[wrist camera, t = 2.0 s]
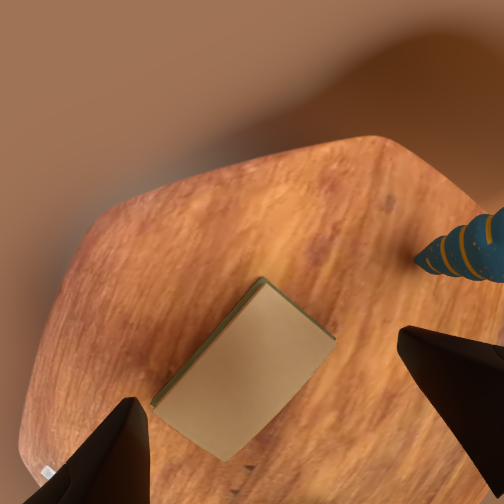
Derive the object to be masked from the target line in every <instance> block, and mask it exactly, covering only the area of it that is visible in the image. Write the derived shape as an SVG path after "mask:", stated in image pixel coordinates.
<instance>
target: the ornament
mask: <svg viewBox="0 0 504 504" xmlns="http://www.w3.org/2000/svg"><path fill="white" fill-rule="evenodd" d="M414 262H415V264H417V265H419V266H420V267H421V268H423V269H424V270H425V271H427V272H429V273H431V274H434V275H440V274H445V275H447V276H451V277H461V276H463V277H465V278H467V279H470V280H473V281H482V280H485V279H487V280H490V281H493V282H497V283H504V207H503V208H502V209H500V210H499V211H498V212H497V213H496V214H495V215H490V214H481V215H479V216H477V217H475V218H474V219H473V220H472V221H471V222H470V223H469V224H468V225H461V226H458V227H456V228H455V229H453V230H452V231H451V232H450V233H449V234H448V235H447V236H440V237H438V238H437V239H435V240H434V241H433V242H431V243H430V244H429V245H428V246H427V247H426V248H425V249H424V250H423V251H422V252H420V253H419V254H418V255H417V256H416V257H415V258H414Z"/></svg>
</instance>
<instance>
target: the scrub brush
mask: <svg viewBox="0 0 504 504" xmlns="http://www.w3.org/2000/svg"><path fill="white" fill-rule="evenodd" d="M335 340H336V338H335V337H333V336H332V335H331V334H330V333H329V332H328V331H326V330H325V329H324V328H323V327H322V326H320V325H319V324H318V323H317V322H316V321H315V320H313V319H312V318H311V317H310V316H309V315H307V314H306V313H305V312H304V311H303V310H302V309H300V308H299V307H298V306H297V305H296V304H295V303H293V302H292V301H291V300H290V299H289V298H288V297H286V296H285V295H284V294H283V293H282V292H281V291H279V290H278V289H277V288H276V287H275V286H274V285H272V284H271V283H270V282H269V281H268V280H267V279H265V278H264V277H263V276H262V277H260V278H259V279H258V280H257V281H256V283H255V284H254V285H253V286H252V287H251V288H250V290H249V291H248V292H247V293H246V294H245V295H244V297H243V298H242V299H241V300H240V301H239V302H238V304H237V305H236V306H235V307H234V308H233V309H232V311H231V312H230V313H229V314H228V315H227V316H226V317H225V319H224V320H223V321H222V322H221V323H220V324H219V325H218V327H217V328H216V329H215V330H214V331H213V332H212V333H211V335H210V336H209V337H208V338H207V339H206V340H205V341H204V343H203V344H202V345H201V346H200V347H199V348H198V349H197V351H196V352H195V353H194V354H193V355H192V356H191V357H190V358H189V360H188V361H187V362H186V363H185V364H184V365H183V366H182V367H181V368H180V370H179V371H178V372H177V373H176V374H175V375H174V376H173V377H172V379H171V380H170V381H169V382H168V383H167V384H166V385H165V386H164V387H163V388H162V390H161V391H160V392H159V393H158V394H157V395H156V396H155V397H154V398H153V400H152V401H151V403H150V404H151V405H153V406H154V409H153V411H152V413H154V414H155V415H156V416H158V417H159V418H160V419H161V420H163V421H164V422H165V423H167V424H168V425H169V426H171V427H172V428H173V429H175V430H176V431H177V432H179V433H180V434H182V435H183V436H184V437H186V438H187V439H189V440H190V441H192V442H193V443H195V444H196V445H198V446H199V447H201V448H202V449H204V450H205V451H207V452H208V453H210V454H212V455H213V456H215V457H216V458H218V459H220V460H221V461H223V462H225V463H226V462H227V461H229V460H230V459H231V458H232V457H233V456H234V455H235V454H236V453H238V452H239V451H240V450H241V449H242V448H243V447H244V446H245V445H246V444H247V443H248V442H249V441H250V440H251V439H252V438H254V437H255V436H256V435H257V434H258V433H259V432H260V431H261V430H262V429H263V428H264V427H265V426H266V425H267V424H268V423H269V422H270V421H271V420H272V419H273V418H274V417H275V416H276V415H277V414H278V412H279V411H280V410H281V409H282V408H283V407H284V406H285V405H286V404H287V403H288V402H289V401H290V400H291V399H292V397H293V396H294V395H295V394H296V393H297V392H298V391H299V390H300V389H301V387H302V386H303V385H304V384H305V383H306V382H307V381H308V380H309V378H310V377H311V376H312V375H313V374H314V373H315V371H316V370H317V369H318V368H319V367H320V365H321V364H322V363H323V362H324V361H325V359H326V358H327V357H328V356H329V354H330V353H331V352H332V351H333V349H334V348H335V347H336V346H337V344H338V343H337V342H336V341H335Z"/></svg>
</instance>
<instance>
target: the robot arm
mask: <svg viewBox="0 0 504 504" xmlns="http://www.w3.org/2000/svg"><path fill="white" fill-rule="evenodd" d="M397 352H398V354H399V356H400V357H401V359H402V361H403V362H404V364H405V366H406V367H407V369H408V371H409V372H410V374H411V376H412V377H413V379H414V380H415V382H416V384H417V385H418V386H419V388H420V389H421V390H422V392H423V393H424V394H425V396H426V397H427V398H428V400H429V401H430V402H431V404H432V405H433V406H434V408H435V409H436V410H437V412H438V413H439V415H440V416H441V417H442V419H443V420H444V421H445V423H446V424H447V426H448V427H449V428H450V430H451V431H452V433H453V434H454V435H455V437H456V438H457V440H458V441H459V442H460V444H461V445H462V447H463V448H464V450H465V451H466V453H467V454H468V455H469V457H470V458H471V460H472V461H473V463H474V465H475V466H476V468H477V469H478V470H479V472H480V474H481V475H482V477H483V478H484V480H485V481H486V483H487V484H488V486H489V487H490V489H491V490H492V492H493V493H494V495H495V496H496V498H497V499H498V498H499V497H500V496H501V495H502V494H504V347H502V346H497V345H491V344H488V343H483V342H479V341H474V340H470V339H465V338H461V337H457V336H452V335H448V334H444V333H439V332H435V331H431V330H427V329H423V328H419V327H415V326H410V325H409V326H406V327H404V328H401V329H400V330H399V333H398V342H397ZM23 504H150V447H149V434H148V419H147V415H146V413H145V411H144V409H143V407H142V406H141V404H140V402H139V400H138V399H137V398H136V397H126V398H124V399H122V401H121V402H120V403H119V404H118V405H117V406H116V407H115V408H114V409H113V411H112V412H111V413H110V414H109V415H108V416H107V417H106V418H105V419H104V421H103V422H102V423H101V424H100V425H99V426H98V427H97V428H96V429H95V431H94V432H93V433H92V434H91V435H90V436H89V437H88V438H87V439H86V441H85V442H84V443H83V444H82V445H81V446H80V447H79V448H78V449H77V451H76V452H75V453H74V454H73V455H72V456H71V457H70V458H69V459H68V460H67V462H66V464H64V465H63V466H62V467H61V468H60V469H59V470H58V471H57V472H56V473H55V474H54V476H53V477H52V478H51V479H50V480H49V481H48V482H46V483H45V484H44V485H43V486H42V487H41V488H40V489H39V490H38V491H37V492H36V493H34V494H33V495H32V496H31V497H30V498H29V499H27V500H26V501H25V502H24V503H23Z"/></svg>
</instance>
